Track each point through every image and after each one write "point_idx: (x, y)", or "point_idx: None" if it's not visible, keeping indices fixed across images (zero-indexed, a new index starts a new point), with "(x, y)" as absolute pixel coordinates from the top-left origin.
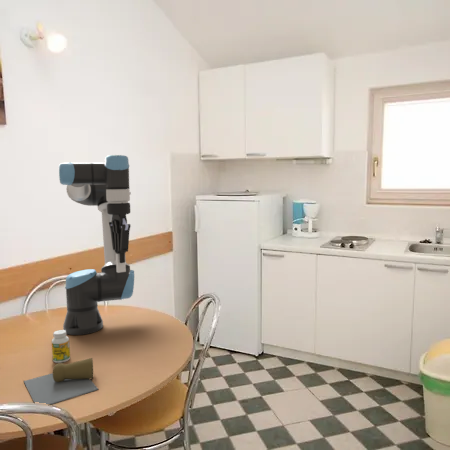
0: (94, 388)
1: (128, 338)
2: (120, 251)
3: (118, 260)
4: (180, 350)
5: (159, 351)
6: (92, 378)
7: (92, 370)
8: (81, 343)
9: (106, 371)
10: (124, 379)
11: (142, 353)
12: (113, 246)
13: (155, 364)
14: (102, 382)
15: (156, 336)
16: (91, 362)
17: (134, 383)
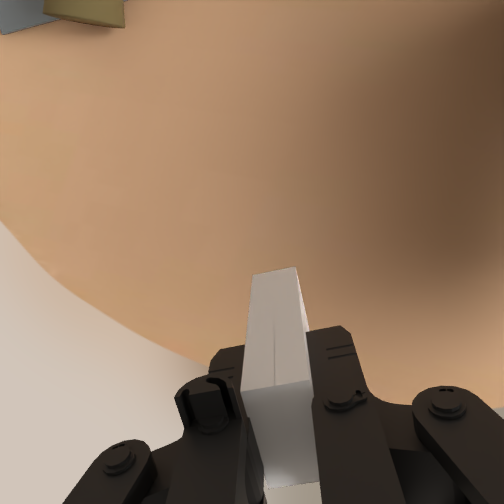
0: (6, 21)
1: (403, 206)
2: (121, 448)
3: (250, 344)
4: (205, 342)
5: (226, 281)
6: (74, 21)
7: (85, 21)
8: (456, 5)
9: (132, 79)
10: (52, 130)
11: (233, 225)
12: (452, 432)
13: (129, 245)
14: (52, 55)
15: (367, 305)
16: (49, 12)
17: (16, 155)
